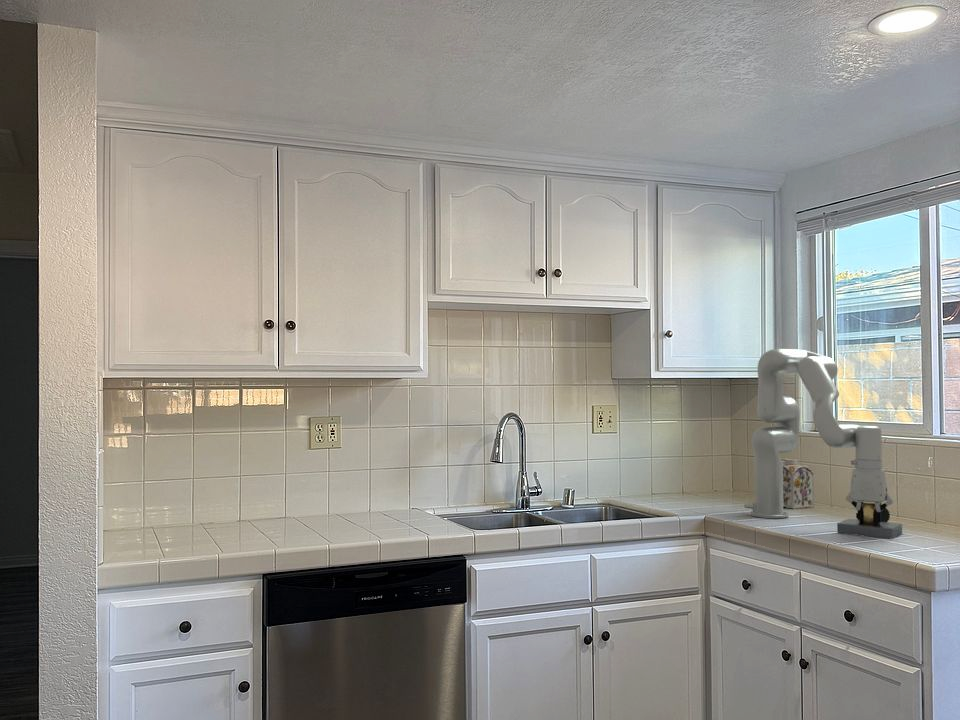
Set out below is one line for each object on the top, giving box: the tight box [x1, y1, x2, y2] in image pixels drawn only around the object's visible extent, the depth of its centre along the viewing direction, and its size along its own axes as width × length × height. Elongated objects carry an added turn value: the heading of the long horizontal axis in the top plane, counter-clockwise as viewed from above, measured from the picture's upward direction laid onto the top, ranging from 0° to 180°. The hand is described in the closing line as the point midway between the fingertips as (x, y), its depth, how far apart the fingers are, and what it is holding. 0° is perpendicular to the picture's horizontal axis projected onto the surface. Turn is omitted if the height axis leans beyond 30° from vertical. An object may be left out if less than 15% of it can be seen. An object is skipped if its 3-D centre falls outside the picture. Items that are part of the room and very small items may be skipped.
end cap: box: [855, 507, 891, 522], centre depth 281 cm, size 10×7×7 cm
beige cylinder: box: [862, 501, 876, 525], centre depth 264 cm, size 4×4×8 cm
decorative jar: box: [782, 458, 815, 510], centre depth 322 cm, size 12×12×18 cm
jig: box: [836, 518, 903, 539], centre depth 264 cm, size 16×12×3 cm
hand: (869, 522), depth 264 cm, fingers closed on beige cylinder, 3 cm apart
